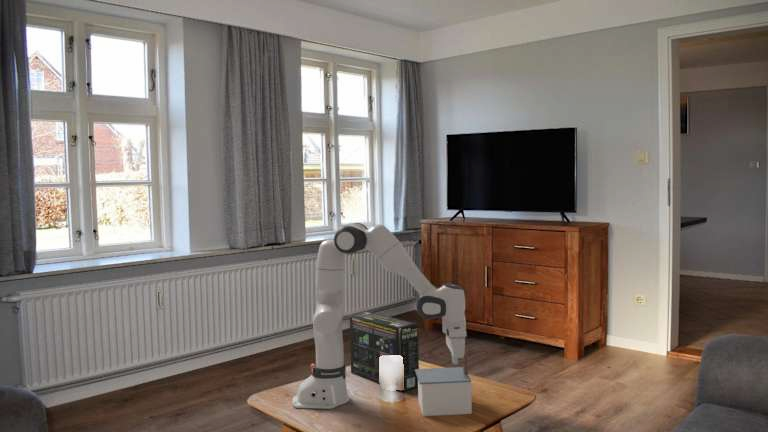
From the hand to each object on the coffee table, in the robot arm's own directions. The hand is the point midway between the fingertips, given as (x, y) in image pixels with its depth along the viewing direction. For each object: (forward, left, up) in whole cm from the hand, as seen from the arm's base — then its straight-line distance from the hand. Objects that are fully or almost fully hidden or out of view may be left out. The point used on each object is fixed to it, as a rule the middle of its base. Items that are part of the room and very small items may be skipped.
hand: (455, 363), depth 234 cm
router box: (-25, +35, -17) cm, 47 cm away
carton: (-4, 0, -17) cm, 17 cm away
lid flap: (-5, 0, -5) cm, 7 cm away
